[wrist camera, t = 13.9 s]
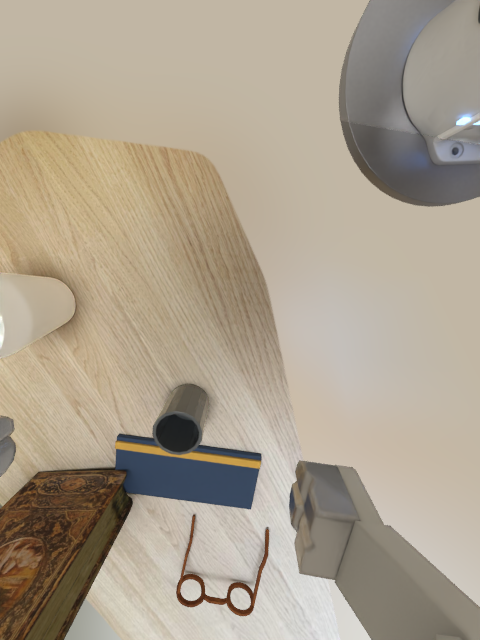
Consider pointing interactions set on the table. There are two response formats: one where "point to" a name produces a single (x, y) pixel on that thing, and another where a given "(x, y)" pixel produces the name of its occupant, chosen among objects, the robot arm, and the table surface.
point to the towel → (188, 472)
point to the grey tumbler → (182, 420)
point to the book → (56, 548)
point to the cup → (31, 309)
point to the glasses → (231, 587)
